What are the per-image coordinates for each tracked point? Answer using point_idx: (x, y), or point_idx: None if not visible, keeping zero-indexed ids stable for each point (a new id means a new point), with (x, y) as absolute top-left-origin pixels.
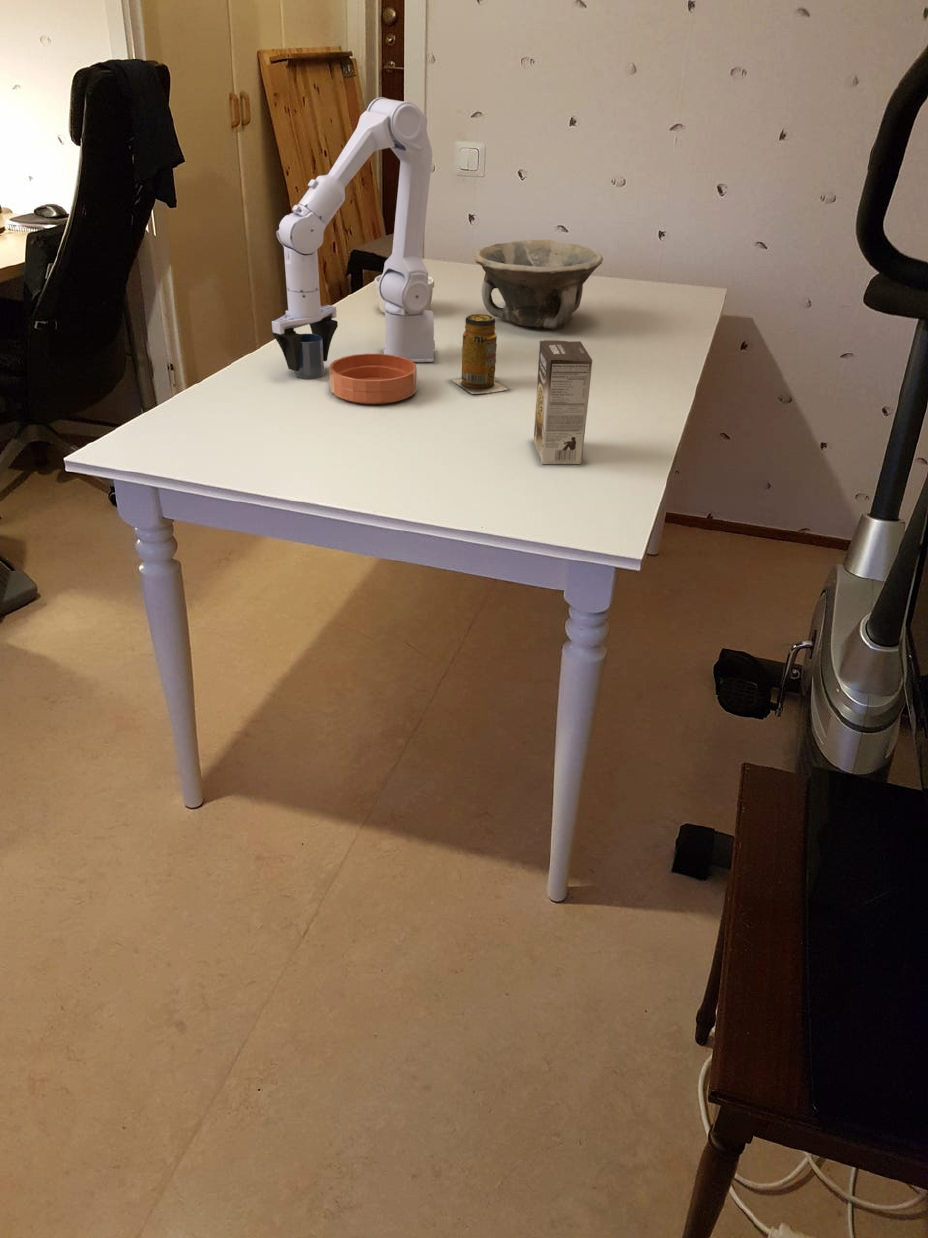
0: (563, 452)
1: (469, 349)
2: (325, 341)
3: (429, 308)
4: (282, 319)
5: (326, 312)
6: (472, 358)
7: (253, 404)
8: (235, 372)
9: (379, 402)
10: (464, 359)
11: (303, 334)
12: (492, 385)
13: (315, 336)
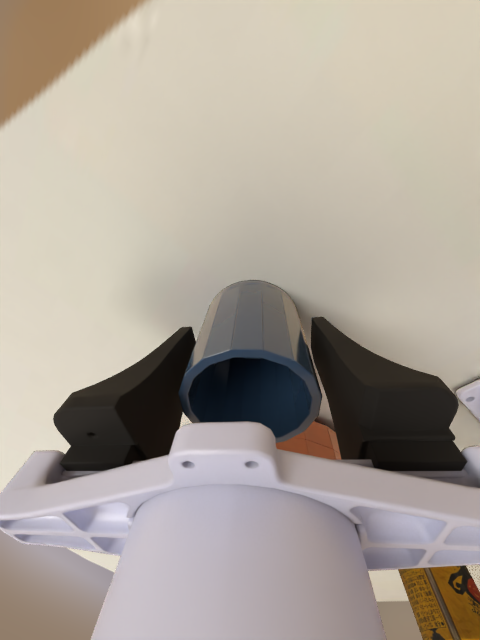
0: None
1: (413, 607)
2: (329, 399)
3: None
4: (68, 512)
5: (372, 564)
6: (404, 586)
7: (41, 379)
8: (53, 141)
9: None
10: (406, 572)
11: (282, 363)
12: None
13: (309, 395)
